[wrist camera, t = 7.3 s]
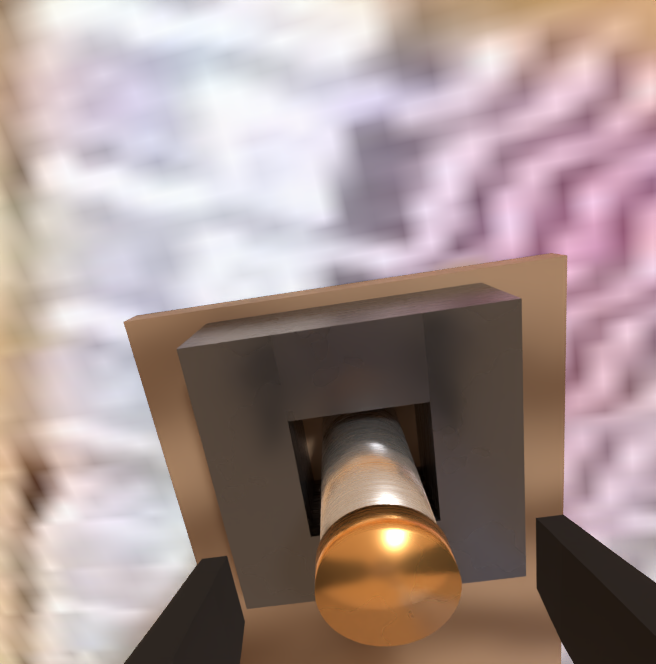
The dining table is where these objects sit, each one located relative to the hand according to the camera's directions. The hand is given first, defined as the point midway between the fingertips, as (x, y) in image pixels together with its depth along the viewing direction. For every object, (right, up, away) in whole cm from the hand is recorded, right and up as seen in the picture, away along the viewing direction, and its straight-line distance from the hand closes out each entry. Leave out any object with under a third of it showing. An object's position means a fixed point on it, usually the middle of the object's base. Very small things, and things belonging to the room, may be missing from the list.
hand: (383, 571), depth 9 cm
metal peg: (0, +2, +6) cm, 7 cm away
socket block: (0, +2, +7) cm, 8 cm away
